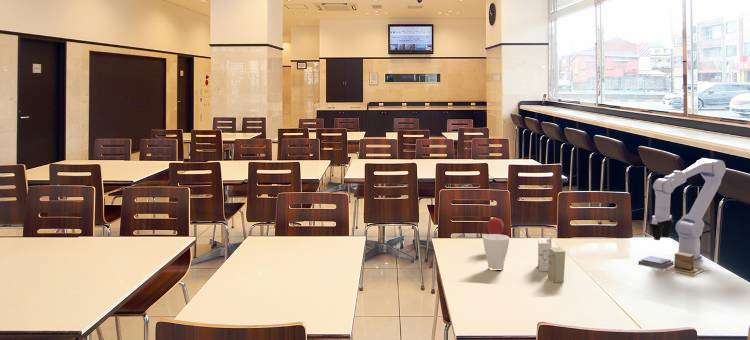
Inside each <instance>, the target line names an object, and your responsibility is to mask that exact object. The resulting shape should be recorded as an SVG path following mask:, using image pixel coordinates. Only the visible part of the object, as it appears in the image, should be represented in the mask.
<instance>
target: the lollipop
mask: <svg viewBox="0 0 750 340" xmlns="http://www.w3.org/2000/svg"><path fill="white" fill-rule="evenodd" d="M486 227H487V231H488V232H489V234H501V235H502V233H503V232H504V231H505V223H504V221H503V220H502V219H501V218H498V217H493V218H490V219H489V220H488V222H487V224H486Z"/></svg>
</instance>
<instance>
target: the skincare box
mask: <svg viewBox="0 0 750 340" xmlns="http://www.w3.org/2000/svg"><path fill="white" fill-rule="evenodd" d="M565 262H566V251H565V250H564V249H562V248H560V247H551V248H549V262H548V272H547V278H548V279H549V280H550V281H551V282H552V283H564V282H565V281H564V280H565V279H564V278H565Z"/></svg>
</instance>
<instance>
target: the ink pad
mask: <svg viewBox="0 0 750 340" xmlns="http://www.w3.org/2000/svg"><path fill="white" fill-rule="evenodd" d="M674 261H675V260H671V259H669V258H664V257H659V256H655V255H649V256H647V257H644V258H642V259H639V260H638V264H639V265H643V266H648V267H653V268H658V269H664V268H668V267H671V266H673V265H674Z"/></svg>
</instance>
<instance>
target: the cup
mask: <svg viewBox="0 0 750 340" xmlns="http://www.w3.org/2000/svg"><path fill="white" fill-rule="evenodd" d="M482 240H483V246H484V247H483V248H484V252H485V255H486V260H487V268H488V267H489V268H492V269H503V270H504V266H505V261H506V260H505V259H506V256H507V254H508V249H509V243H510V237H509V236H508V235H505V234H502V233H501V234H491V233H489V234H485V235H483V236H482Z"/></svg>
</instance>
